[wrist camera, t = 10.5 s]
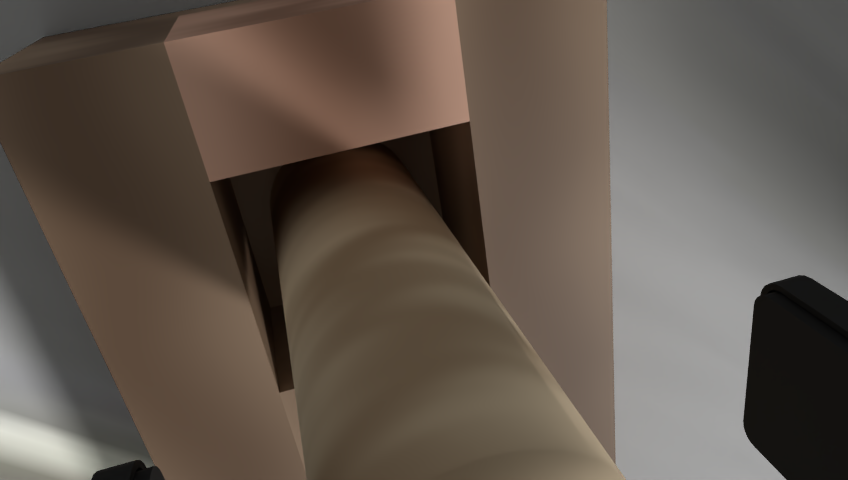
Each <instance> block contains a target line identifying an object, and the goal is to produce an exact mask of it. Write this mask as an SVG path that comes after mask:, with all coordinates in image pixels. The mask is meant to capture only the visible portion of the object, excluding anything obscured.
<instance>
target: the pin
mask: <svg viewBox="0 0 848 480" xmlns="http://www.w3.org/2000/svg"><path fill="white" fill-rule="evenodd" d="M270 212H271V219H272V226H273V234H274V241H275V249H276V256H277V263H278V271H279V278H280V286H281V293H282V301H283V308H284V315H285V323H286V330H287V338H288V345H289V352H290V360H291V367H292V375H293V382H294V389H295V397H296V404H297V412H298V419H299V426H300V434H301V441H302V449H303V456H304V463H305V471H306V478H307V480H626V479H625V477H624V476H623V475H622V473H621V472H620V470H619V469H618V468H617V466H616V465H615V463H614V462H613V460H612V459H611V458H610V456H609V455H608V453H607V452H606V451H605V449H604V448H603V446H602V445H601V443H600V442H599V441H598V439H597V438H596V436H595V435H594V434H593V432H592V431H591V429H590V428H589V426H588V425H587V424H586V422H585V421H584V419H583V418H582V417H581V415H580V414H579V412H578V411H577V409H576V408H575V407H574V405H573V404H572V402H571V401H570V400H569V398H568V397H567V395H566V394H565V392H564V391H563V390H562V388H561V387H560V385H559V384H558V383H557V381H556V380H555V378H554V377H553V375H552V374H551V373H550V371H549V370H548V368H547V367H546V366H545V364H544V363H543V361H542V360H541V358H540V357H539V356H538V354H537V353H536V351H535V350H534V349H533V347H532V346H531V344H530V343H529V341H528V340H527V339H526V337H525V336H524V334H523V333H522V332H521V330H520V329H519V327H518V326H517V324H516V323H515V322H514V320H513V319H512V317H511V316H510V315H509V313H508V312H507V310H506V309H505V307H504V306H503V305H502V303H501V302H500V300H499V299H498V298H497V296H496V295H495V293H494V292H493V290H492V289H491V288H490V286H489V285H488V283H487V282H486V281H485V279H484V278H483V276H482V275H481V273H480V272H479V271H478V269H477V268H476V266H475V265H474V264H473V262H472V261H471V259H470V258H469V256H468V255H467V254H466V252H465V251H464V249H463V248H462V247H461V245H460V244H459V242H458V241H457V239H456V238H455V237H454V235H453V234H452V232H451V231H450V230H449V228H448V227H447V225H446V224H445V222H444V221H443V220H442V218H441V217H440V215H439V214H438V213H437V211H436V210H435V208H434V207H433V205H432V204H431V203H430V201H429V200H428V198H427V197H426V195H425V194H424V193H423V191H422V190H421V188H420V187H419V186H418V184H417V183H416V181H415V180H414V178H413V177H412V176H411V174H410V173H409V171H408V170H407V169H406V167H405V166H404V164H403V163H402V162H401V160H400V159H399V158H398V156H397V155H396V154H395V153H394V152H393V151H391V150H390V149H389V148H388V147H386V146H385V145H383V144H382V143H380V142H379V143H375V144H371V145H366V146H362V147H358V148H353V149H349V150H345V151H341V152H336V153H332V154H328V155H324V156H319V157H315V158H311V159H306V160H302V161H298V162H294V163H289V164H285V165H283V166H282V167H281V169H280V170H279V172H278V174H277V176H276V178H275V181H274V183H273V186H272V191H271V197H270Z"/></svg>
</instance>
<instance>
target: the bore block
mask: <svg viewBox="0 0 848 480" xmlns="http://www.w3.org/2000/svg"><path fill="white" fill-rule="evenodd" d="M379 142H380V143H382V144H383V145H385V146H386V147H388V148H389V149H390V150H391V151H393V152H394V153H395V154H396V155H397V156H398V158H399V159H400V160H401V162H402V163H403V164H404V166H405V167H406V169H407V170H408V171H409V173H410V174H411V176H412V177H413V178H414V180H415V181H416V183H417V184H418V186H419V187H420V188H421V190H422V191H423V193H424V194H425V195H426V197H427V198H428V200H429V201H430V203H431V204H432V205H433V207H434V208H435V210H436V211H437V213H438V214H439V215H440V217H441V218H442V220H443V221H444V222H445V224H446V225H447V227H448V228H449V230H450V231H451V232H452V234H453V235H454V237H455V238H456V239H457V241H458V242H459V244H460V245H461V247H462V248H463V249H464V251H465V252H466V254H467V255H468V256H469V258H470V259H471V261H472V262H473V264H474V265H475V266H476V268H477V269H478V271H479V272H480V273H481V275H482V276H483V278H484V279H485V281H486V282H487V283H488V285H489V286H490V288H491V289H492V290H493V292H494V293H495V295H496V296H497V298H498V299H499V300H500V302H501V303H502V305H503V306H504V307H505V309H506V310H507V312H508V313H509V315H510V316H511V317H512V319H513V320H514V322H515V323H516V324H517V326H518V327H519V329H520V330H521V332H522V333H523V334H524V336H525V337H526V339H527V340H528V341H529V343H530V344H531V346H532V347H533V349H534V350H535V351H536V353H537V354H538V356H539V357H540V358H541V360H542V361H543V363H544V364H545V366H546V367H547V368H548V370H549V371H550V373H551V374H552V375H553V377H554V378H555V380H556V381H557V383H558V384H559V385H560V387H561V388H562V390H563V391H564V392H565V394H566V395H567V397H568V398H569V400H570V401H571V402H572V404H573V405H574V407H575V408H576V409H577V411H578V412H579V414H580V415H581V417H582V418H583V419H584V421H585V422H586V424H587V425H588V426H589V428H590V429H591V431H592V432H593V434H594V435H595V436H596V438H597V439H598V441H599V442H600V443H601V445H602V446H603V448H604V449H605V451H606V452H607V453H608V455H609V456H610V458H611V459H612V460H613V462H614V463H615V412H614V360H613V308H612V256H611V203H610V151H609V99H608V47H607V0H237V1H232V2H226V3H221V4H216V5H211V6H205V7H200V8H195V9H189V10H184V11H179V12H174V13H168V14H163V15H158V16H153V17H147V18H142V19H137V20H132V21H126V22H121V23H116V24H111V25H105V26H100V27H95V28H90V29H84V30H79V31H74V32H69V33H63V34H58V35H53V36H48V37H43V38H41V39H40V40H38V41H36V42H34V43H33V44H31V45H29V46H28V47H26V48H24V49H23V50H21V51H19V52H18V53H16V54H14V55H13V56H11V57H9V58H7V59H6V60H4V61H2V62H1V63H0V143H1V145H2V147H3V149H4V151H5V153H6V155H7V157H8V159H9V162H10V164H11V166H12V168H13V170H14V172H15V174H16V176H17V178H18V180H19V182H20V185H21V187H22V189H23V191H24V193H25V195H26V197H27V199H28V201H29V203H30V205H31V208H32V210H33V212H34V214H35V216H36V218H37V220H38V222H39V224H40V226H41V229H42V231H43V233H44V235H45V237H46V239H47V241H48V243H49V245H50V247H51V249H52V252H53V254H54V256H55V258H56V260H57V262H58V264H59V266H60V268H61V270H62V272H63V275H64V277H65V279H66V281H67V283H68V285H69V287H70V289H71V291H72V293H73V295H74V298H75V300H76V302H77V304H78V306H79V308H80V310H81V312H82V314H83V316H84V318H85V321H86V323H87V325H88V327H89V329H90V331H91V333H92V335H93V337H94V339H95V341H96V344H97V346H98V348H99V350H100V352H101V354H102V356H103V358H104V360H105V362H106V364H107V367H108V369H109V371H110V373H111V375H112V377H113V379H114V381H115V383H116V385H117V387H118V390H119V392H120V394H121V396H122V398H123V400H124V402H125V404H126V406H127V408H128V410H129V413H130V415H131V417H132V419H133V421H134V423H135V425H136V427H137V429H138V431H139V434H140V436H141V438H142V440H143V442H144V444H145V446H146V448H147V450H148V452H149V454H150V457H151V459H152V461H153V463H154V465H155V466H157V467H158V468H159V469H160V471H161V472H162V474H163V476H164V479H165V480H307V478H306V471H305V463H304V456H303V449H302V441H301V434H300V426H299V419H298V412H297V404H296V397H295V389H294V382H293V375H292V367H291V360H290V352H289V345H288V338H287V330H286V323H285V315H284V308H283V301H282V293H281V286H280V278H279V271H278V263H277V256H276V249H275V241H274V234H273V226H272V219H271V212H270V197H271V191H272V186H273V183H274V181H275V178H276V176H277V174H278V172H279V170H280V169H281V167H282V166H283V165H285V164H289V163H294V162H298V161H302V160H306V159H311V158H315V157H319V156H324V155H328V154H332V153H336V152H341V151H345V150H349V149H353V148H358V147H362V146H366V145H371V144H375V143H379ZM615 465H616V464H615Z"/></svg>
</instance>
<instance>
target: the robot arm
mask: <svg viewBox="0 0 848 480" xmlns="http://www.w3.org/2000/svg"><path fill="white" fill-rule="evenodd" d="M743 422H744V429H745V432H746V435H747V437H748V439H749V440H750V442H751V443H752V444H753V446H754V447H755V448H756V449H757V450H758V451H759V452H760V453H761V454H762V455H763V456H764V457H765V458H766V459H767V460H768V461H769V462H770V463H771V464H772V465H773V466H774V467H775V468H776V469H777V470H778V471H779V472H780V473H781V474H782V475H783V476H784V477H785V478H786V480H848V301H847V300H845V299H844V298H842V297H840V296H839V295H837V294H836V293H834V292H832V291H831V290H829V289H828V288H826V287H824V286H823V285H821V284H819V283H818V282H816V281H815V280H813V279H811V278H809V277H807V276H802V275H799V276H795V277H791V278H788V279H784V280H781V281H777V282H773V283H770V284H768V285H766V286H764V288H763V289H762V291H761V295H760V296H759V297H757V299H756V300H755V303H754V311H753V322H752V333H751V344H750V355H749V366H748V377H747V387H746V398H745V409H744V420H743ZM91 480H165V479H164V476H163V474H162V472H161V471H160V469H159V468H158V467H157V466H153V467H150V468H146V466H145V464H144V463H143V462H142V461H141V460H135V461H132V462H128V463H125V464H121V465H117V466H114V467H110V468H107V469H103V470H100V471H97V472H96V473H95V474H94V475H93V477H92V479H91Z"/></svg>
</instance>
